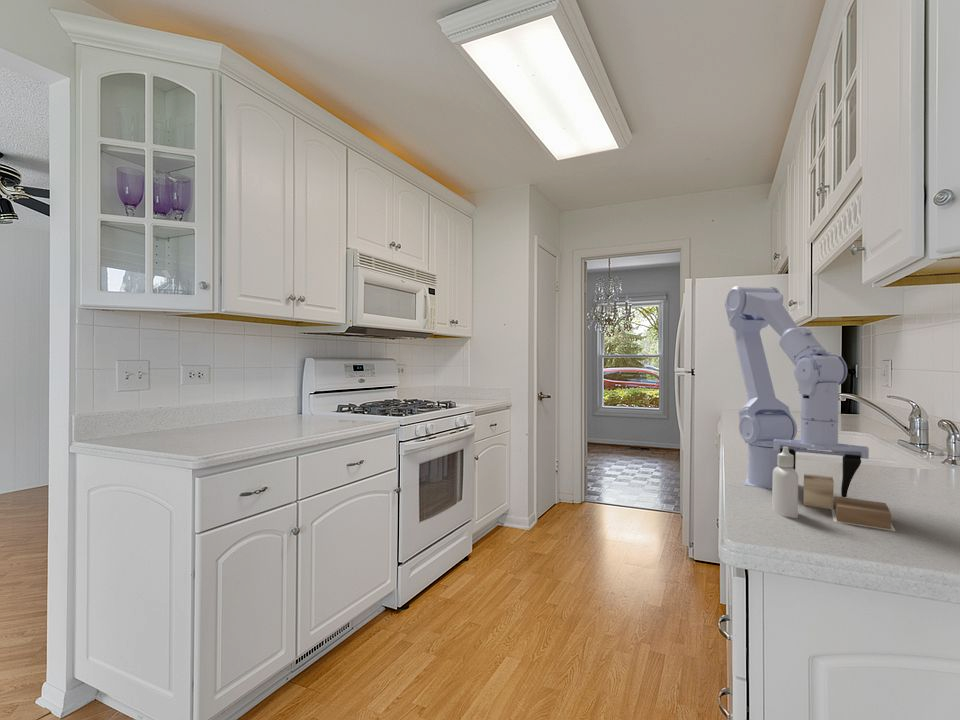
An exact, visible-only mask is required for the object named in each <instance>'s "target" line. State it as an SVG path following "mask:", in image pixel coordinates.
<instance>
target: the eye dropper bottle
mask: <svg viewBox="0 0 960 720" xmlns="http://www.w3.org/2000/svg"><path fill="white" fill-rule="evenodd" d="M777 465H778V467H776V468H774V470H773V486H772V489H771V490H772V491H771V492H772V493H771V494H772V496H771V497H772V501H771V502H772V503H771V510H772V512H774V513H775V514H777V515H778V516H781V517H784V518H794V519H795V518H797V519H798V517H799V515H798V514H799V475H798V473H797V471H796V469H795V470H794V469H793V468H792V467H794V456H793V455H791V454H790V453H789V450H788V447H783V451H782V453H780V454H778V460H777Z"/></svg>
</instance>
